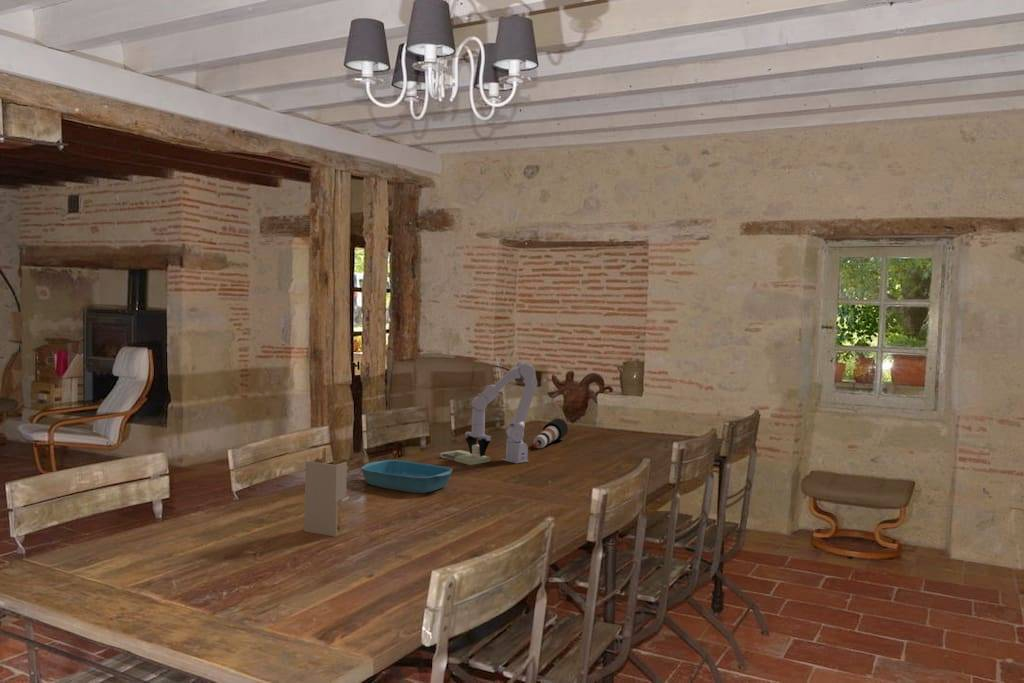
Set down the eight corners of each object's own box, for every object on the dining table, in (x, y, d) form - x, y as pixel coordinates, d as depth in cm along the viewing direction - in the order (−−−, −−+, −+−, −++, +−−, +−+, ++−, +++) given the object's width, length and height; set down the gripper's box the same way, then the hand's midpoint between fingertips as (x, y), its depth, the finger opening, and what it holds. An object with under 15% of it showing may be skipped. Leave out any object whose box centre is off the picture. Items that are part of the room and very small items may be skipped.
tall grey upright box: (336, 538, 240) (337, 453, 239) (304, 532, 245) (305, 449, 243) (351, 531, 248) (352, 448, 246) (319, 526, 252) (321, 445, 251)
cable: (531, 458, 388) (521, 439, 389) (554, 440, 420) (546, 422, 420) (548, 451, 384) (539, 431, 385) (571, 433, 416) (562, 415, 416)
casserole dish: (349, 484, 307) (349, 465, 307) (386, 474, 326) (386, 456, 326) (429, 499, 289) (430, 479, 289) (463, 487, 309) (463, 468, 308)
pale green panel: (490, 461, 356) (490, 457, 356) (469, 465, 348) (469, 460, 348) (460, 454, 371) (460, 450, 370) (439, 457, 362) (440, 453, 362)
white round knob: (485, 457, 356) (485, 445, 356) (476, 458, 353) (477, 446, 353) (477, 455, 360) (478, 444, 360) (469, 456, 356) (469, 445, 356)
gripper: (460, 422, 358) (459, 453, 359) (482, 427, 348) (481, 458, 348) (472, 421, 363) (471, 451, 364) (494, 425, 353) (493, 456, 353)
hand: (477, 454), depth 356 cm, fingers open, 6 cm apart
